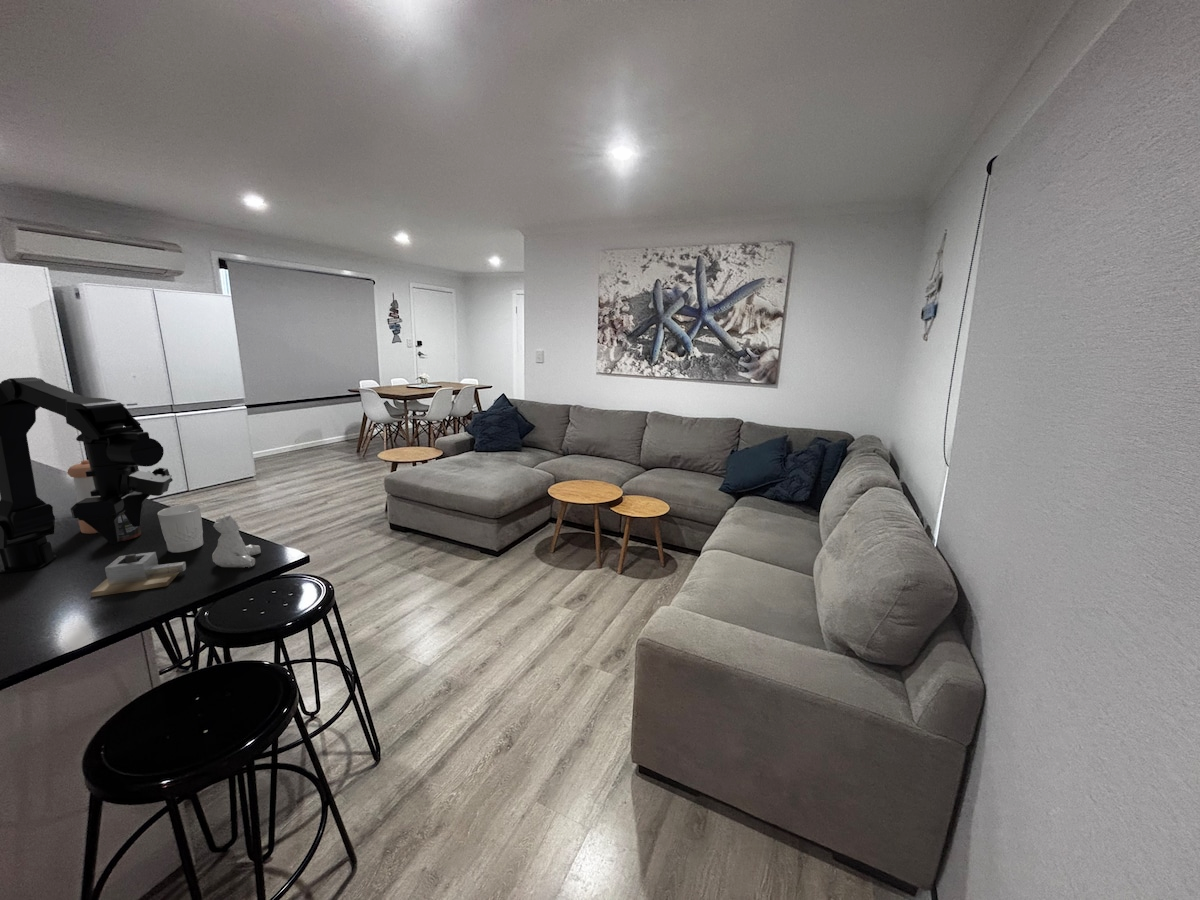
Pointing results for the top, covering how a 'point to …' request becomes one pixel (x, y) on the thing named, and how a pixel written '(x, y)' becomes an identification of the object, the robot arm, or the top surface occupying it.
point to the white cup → (181, 527)
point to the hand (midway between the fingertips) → (126, 534)
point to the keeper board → (150, 583)
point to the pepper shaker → (83, 488)
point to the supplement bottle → (127, 529)
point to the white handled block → (139, 569)
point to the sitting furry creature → (232, 545)
